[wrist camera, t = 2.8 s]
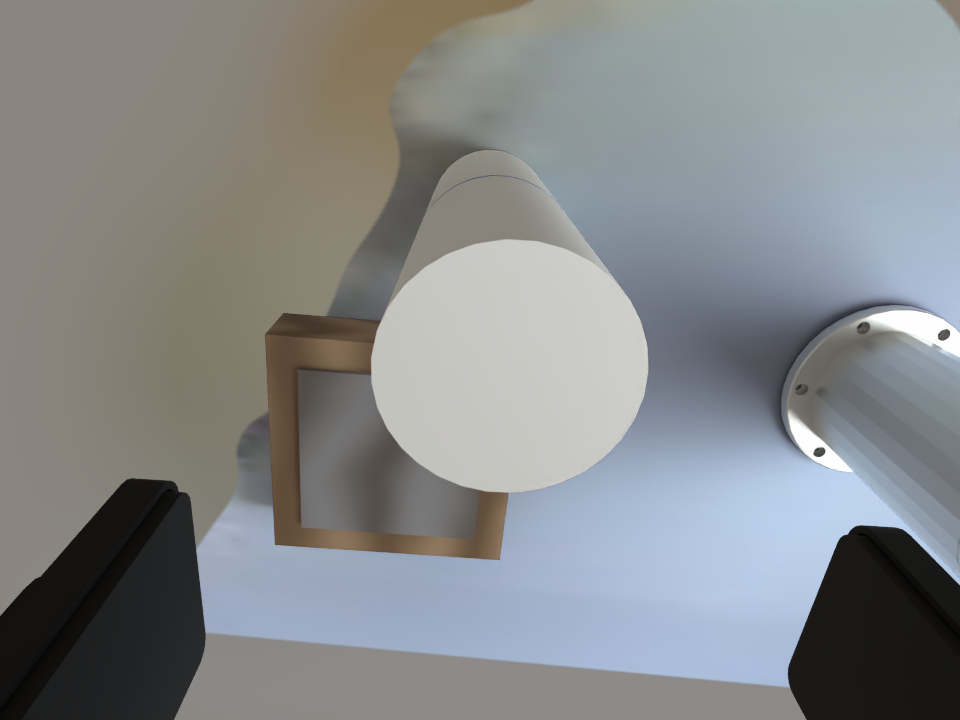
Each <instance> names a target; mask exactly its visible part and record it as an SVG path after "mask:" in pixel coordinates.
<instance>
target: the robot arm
mask: <svg viewBox="0 0 960 720" xmlns="http://www.w3.org/2000/svg"><path fill="white" fill-rule="evenodd" d="M781 413H782V419H783V423H784V426H785V429H786V431H787V433H788V435H789V436H790V438H791V440H792V441H793V442H794V444H795V445H796V446H797V447H798V448H799V449H800V450H801V451H802V453H804V454H805V455H806V456H807V457H808V458H810V459H811V460H812V461H814V462H816V463H818V464H820V465H822V466H824V467H826V468H830V469H834V470H838V471H843V472H854V473H855V474H856V475H857V476H858V477H859V478H860V479H861V480H862V481H863V482H864V483H865V484H866V485H867V486H868V487H869V488H870V489H871V490H872V491H873V492H874V493H875V494H876V495H877V496H878V497H879V498H880V499H881V500H882V501H883V502H884V503H885V504H886V505H887V506H888V507H889V508H890V509H891V510H892V511H893V512H894V513H895V514H896V515H897V516H898V517H899V518H900V519H901V520H902V521H903V522H904V523H905V524H906V525H907V526H908V527H909V528H910V529H911V530H912V531H913V532H914V533H915V534H916V535H917V536H918V537H919V538H920V539H921V540H922V541H923V542H924V543H925V544H926V545H927V546H928V547H929V548H930V549H931V550H932V551H933V552H934V553H935V554H936V555H937V556H938V557H939V558H940V559H941V560H942V561H943V562H944V563H945V564H946V565H947V566H948V567H949V568H950V569H951V570H952V571H953V572H954V573H955V574H956V575H957V576H958V577H959V578H960V333H959V331H958V330H957V329H956V328H955V327H954V326H953V325H951V324H950V323H949V322H947V321H946V320H945V319H943V318H941V317H939V316H937V315H935V314H933V313H931V312H929V311H926V310H923V309H919V308H916V307H913V306H902V305H888V306H877V307H873V308H869V309H865V310H862V311H858V312H856V313H853V314H851V315H849V316H847V317H844V318H842V319H840V320H838V321H837V322H835V323H834V324H832V325H831V326H829V327H827V328H826V329H824V330H823V331H822V332H821V333H820V334H818V335H817V336H816V337H815V338H814V339H813V340H812V341H810V342H809V344H808V345H807V346H806V347H805V348H804V350H803V351H802V352H801V353H800V354H799V356H798V357H797V359H796V360H795V362H794V364H793V365H792V367H791V369H790V370H789V373H788V375H787V378H786V381H785V383H784V386H783V391H782V398H781ZM204 647H205V625H204V616H203V607H202V598H201V590H200V581H199V572H198V563H197V554H196V545H195V536H194V527H193V518H192V509H191V501H190V497H189V495H188V494H187V493H183V492H179V491H178V487H177V485H176V484H175V483H174V482H172V481H164V480H148V479H133V478H131V479H128V480H126V481H125V482H124V483H122V484H121V486H120V487H119V488H118V489H117V490H116V491H115V492H114V493H113V495H112V496H111V497H110V498H109V499H108V500H107V501H106V503H105V504H104V505H103V506H102V507H101V508H100V509H99V511H98V512H97V513H96V514H95V515H94V516H93V518H92V519H91V520H90V521H89V522H88V523H87V524H86V525H85V527H84V528H83V529H82V530H81V531H80V532H79V534H78V535H77V536H76V537H75V538H74V539H73V540H72V541H71V543H70V544H69V545H68V546H67V547H66V549H65V550H64V551H63V552H62V553H61V554H60V555H59V556H58V557H57V559H56V560H55V561H54V562H53V563H52V565H50V567H49V568H48V569H47V570H46V571H45V572H44V573H43V575H42V576H41V577H39V578H37V579H35V580H34V581H32V582H31V583H30V584H29V585H28V586H27V587H26V588H25V589H24V590H23V591H22V592H21V593H20V594H19V596H18V597H17V598H16V599H15V600H14V601H13V602H12V603H11V604H10V606H9V607H8V608H7V609H6V610H5V611H4V612H3V614H2V615H1V616H0V720H174V718H175V716H176V714H177V712H178V709H179V708H180V705H181V703H182V701H183V699H184V697H185V695H186V693H187V690H188V688H189V686H190V684H191V682H192V680H193V677H194V675H195V673H196V671H197V669H198V667H199V664H200V662H201V659H202V656H203V652H204ZM788 680H789V685H790V688H791V691H792V693H793V695H794V697H795V699H796V701H797V703H798V704H799V706H800V708H801V710H802V712H803V714H804V715H805V717H806V719H807V720H960V585H959V584H958V583H957V582H956V581H955V580H954V579H953V578H952V577H951V576H950V575H949V574H948V573H947V572H946V571H945V570H944V569H943V568H942V567H941V566H940V565H939V564H938V563H937V562H936V561H935V560H934V559H933V558H932V557H931V556H930V555H929V554H928V553H927V552H926V551H925V550H924V549H923V548H922V547H921V546H920V545H919V544H918V543H917V542H916V541H915V540H914V539H913V538H912V537H911V536H910V535H909V534H908V533H907V532H905V531H904V530H903V529H899V528H894V527H878V526H863V525H861V526H855V527H854V528H853V529H852V530H850V532H849V534H848V535H844V536H842V537H841V538H840V539H839V541H838V543H837V545H836V548H835V550H834V553H833V556H832V558H831V561H830V563H829V566H828V568H827V571H826V573H825V576H824V578H823V581H822V583H821V586H820V588H819V591H818V593H817V596H816V598H815V601H814V603H813V606H812V608H811V611H810V613H809V616H808V618H807V621H806V623H805V626H804V628H803V631H802V633H801V636H800V638H799V641H798V643H797V646H796V649H795V651H794V654H793V656H792V659H791V661H790V664H789V668H788Z"/></svg>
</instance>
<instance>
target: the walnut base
mask: <svg viewBox="0 0 960 720" xmlns="http://www.w3.org/2000/svg"><path fill="white" fill-rule="evenodd" d="M380 322H381V321H372V320H360V319H348V318H336V317H324V316H323V317H322V316H312V315H300V314H288V313H283V315H282V316H281V317H280V318H279V319H278V320H277V321H276V323H275V324H274V325H273V326H272V327H271V328H270V330H269V331H268V332H267V333H266V334H265V342H266V363H267V384H268V405H269V427H270V448H271V470H272V491H273V512H274V533H275V545H285V546H300V547H314V548H329V549H344V550H359V551H374V552H389V553H404V554H419V555H433V556H448V557H463V558H478V559H493V560H500V553H501V545H502V538H503V530H504V522H505V515H506V507H507V499H508V493H507V492H486V491H482V490H477V489H473V488H468V487H464V486H460V485H458V484H456V483H453V482H451V481H448V480H446V479H444V478H441V477H439V476H437V475H435V474H434V473H432V472H431V471H429V470H428V469H426V468H425V467H423V466H422V465H420V464H418V463H417V462H416V461H415V460H414V459H413V458H412V457H411V456H410V455H409V454H408V453H406V452H405V451H404V450H403V449H402V448H401V447H400V445H399V444H398V443H397V441H396V440H395V439H394V437H393V436H392V435H391V433H390V432H389V431H388V429H387V427H386V425H385V423H384V421H383V419H382V416H381V414H380V412H379V410H378V408H377V404H376V400H375V396H374V392H373V387H372V383H371V356H372V351H373V346H374V342H375V337H376V333H377V329H378V327H379V325H380Z"/></svg>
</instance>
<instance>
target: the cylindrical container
mask: <svg viewBox="0 0 960 720" xmlns="http://www.w3.org/2000/svg"><path fill="white" fill-rule="evenodd" d="M648 371H649V370H648V347H647V342H646V338H645V335H644V331H643V327H642V324H641V320H640V318H639V316H638V315H637V313H636V311H635V309H634V307H633V305H632V303H631V301H630V299H629V298H628V296H627V295H626V294H625V292H624V291H623V290H622V288H621V287H620V286H619V284H618V283H617V282H616V280H615V279H614V278H613V276H612V275H611V274H610V272H609V271H608V270H607V268H606V267H605V266H604V264H603V263H602V262H601V260H600V259H599V258H598V256H597V255H596V254H595V252H594V251H593V250H592V248H591V247H590V246H589V244H588V243H587V242H586V240H585V239H584V238H583V236H582V235H581V234H580V232H579V231H578V230H577V228H576V227H575V226H574V224H573V223H572V222H571V220H570V219H569V218H568V216H567V215H566V214H565V212H564V211H563V210H562V208H561V207H560V206H559V204H558V203H557V202H556V200H555V199H554V198H553V196H552V195H551V194H550V192H549V191H548V190H547V188H546V187H545V186H544V184H543V183H542V182H541V180H540V179H539V178H538V176H537V175H536V174H535V173H534V171H533V170H532V169H531V168H530V166H528V165H527V164H526V163H525V162H524V161H522V160H521V159H519V158H518V157H516V156H514V155H512V154H509V153H506V152H502V151H499V150H482V151H476V152H473V153H470V154H467V155H465V156H463V157H461V158H460V159H458V160H457V161H455V162H454V163H453V164H452V165H451V166H450V167H448V168H447V170H446V171H445V172H444V174H443V175H442V176H441V178H440V180H439V182H438V184H437V186H436V188H435V191H434V193H433V196H432V198H431V200H430V203H429V205H428V208H427V210H426V212H425V215H424V217H423V220H422V222H421V225H420V227H419V229H418V232H417V234H416V237H415V239H414V242H413V244H412V247H411V249H410V251H409V254H408V256H407V259H406V261H405V264H404V266H403V268H402V271H401V273H400V276H399V278H398V281H397V283H396V286H395V288H394V290H393V293H392V295H391V298H390V300H389V303H388V305H387V307H386V310H385V312H384V315H383V317H382V320H381V322H380V325H379V327H378V329H377V333H376V337H375V342H374V346H373V351H372V356H371V383H372V387H373V392H374V396H375V400H376V404H377V408H378V410H379V412H380V414H381V416H382V419H383V421H384V423H385V425H386V427H387V429H388V431H389V432H390V433H391V435H392V436H393V437H394V439H395V440H396V441H397V443H398V444H399V445H400V447H401V448H402V449H403V450H404V451H405V452H406V453H408V454H409V455H410V456H411V457H412V458H413V459H414V460H415V461H416V462H417V463H418V464H420V465H422V466H423V467H425V468H426V469H428V470H429V471H431V472H432V473H434V474H435V475H437V476H439V477H441V478H444V479H446V480H448V481H451V482H453V483H456V484H458V485H460V486H464V487H468V488H473V489H477V490H482V491H486V492H507V493H515V492H523V491H531V490H539V489H542V488H545V487H549V486H552V485H555V484H559V483H562V482H564V481H566V480H568V479H570V478H572V477H574V476H576V475H578V474H581V473H583V472H584V471H586V470H587V469H589V468H590V467H591V466H593V465H594V464H596V463H597V462H598V461H600V460H601V459H603V458H604V457H605V456H606V455H607V454H608V453H609V452H610V451H611V450H612V449H613V448H614V447H615V446H616V445H617V444H618V443H619V442H620V440H621V439H622V437H623V436H624V434H625V433H626V431H627V430H628V429H629V427H630V426H631V424H632V423H633V421H634V419H635V417H636V414H637V412H638V410H639V407H640V405H641V402H642V400H643V398H644V393H645V388H646V382H647V377H648Z"/></svg>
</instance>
